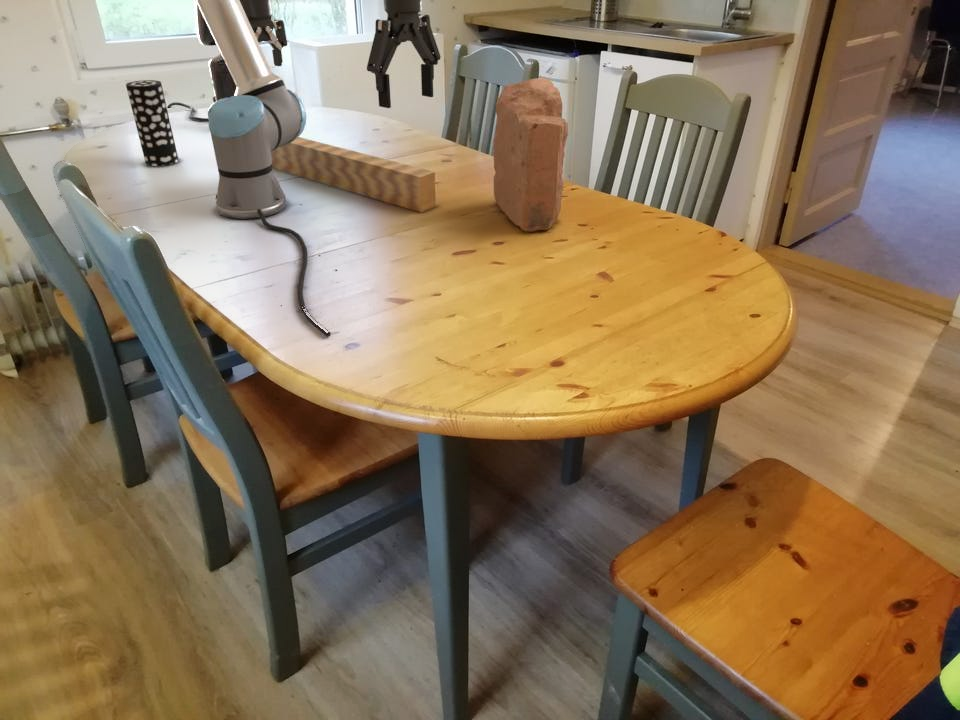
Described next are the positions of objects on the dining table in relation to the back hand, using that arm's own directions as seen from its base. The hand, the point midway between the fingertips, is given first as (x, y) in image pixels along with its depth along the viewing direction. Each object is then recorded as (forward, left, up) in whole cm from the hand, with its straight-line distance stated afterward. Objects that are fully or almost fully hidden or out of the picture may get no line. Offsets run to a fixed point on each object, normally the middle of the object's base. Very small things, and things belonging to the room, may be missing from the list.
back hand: (264, 68), depth 172 cm
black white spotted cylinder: (-30, -12, -14) cm, 35 cm away
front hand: (+47, -10, -1) cm, 48 cm away
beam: (+23, -5, -24) cm, 34 cm away
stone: (+74, -4, -24) cm, 78 cm away
